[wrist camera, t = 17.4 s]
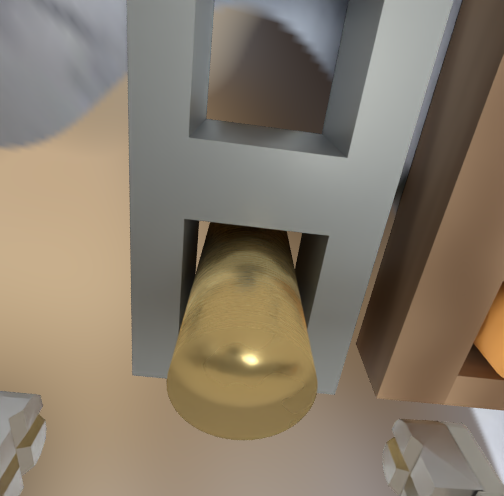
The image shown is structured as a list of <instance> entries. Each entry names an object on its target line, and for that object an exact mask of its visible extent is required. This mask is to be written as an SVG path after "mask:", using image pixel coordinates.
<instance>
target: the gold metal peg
mask: <svg viewBox="0 0 504 496" xmlns="http://www.w3.org/2000/svg"><path fill="white" fill-rule="evenodd" d="M317 388H318V381H317V375H316V370H315V366H314V361H313V356H312V351H311V346H310V341H309V337H308V332H307V327H306V322H305V317H304V312H303V308H302V303H301V298H300V293H299V288H298V283H297V279H296V274H295V269H294V264H293V260H292V255H291V250H290V245H289V240H288V236H287V231H284V230H276V229H267V228H259V227H250V226H242V225H233V224H225V223H216V222H210V225H209V228H208V232H207V235H206V239H205V243H204V246H203V250H202V253H201V257H200V260H199V264H198V268H197V271H196V275H195V278H194V282H193V285H192V289H191V292H190V296H189V300H188V303H187V307H186V310H185V314H184V317H183V321H182V324H181V328H180V332H179V335H178V339H177V342H176V346H175V349H174V353H173V357H172V360H171V364H170V367H169V371H168V374H167V392H168V396H169V399H170V401H171V403H172V405H173V407H174V408H175V410H176V411H177V412H178V414H179V415H180V416H181V417H182V418H183V419H184V420H185V421H186V422H188V423H189V424H191V425H192V426H194V427H195V428H197V429H199V430H201V431H203V432H205V433H207V434H210V435H213V436H216V437H220V438H225V439H231V440H255V439H262V438H266V437H270V436H273V435H276V434H279V433H281V432H283V431H285V430H287V429H289V428H291V427H292V426H294V425H295V424H296V423H298V422H299V421H300V420H301V419H302V418H303V417H304V416H305V415H306V414H307V413H308V411H309V410H310V409H311V407H312V405H313V403H314V401H315V398H316V394H317Z"/></svg>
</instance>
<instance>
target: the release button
mask: <svg viewBox="0 0 504 496" xmlns="http://www.w3.org/2000/svg"><path fill="white" fill-rule="evenodd" d="M474 345H475V346H476V347H477V348H478V350H479V351H480V352H481V353H482V355H483V356H484V357H485V358H486V360H487V361H488V362H489V363H490V365H491V366H492V367H493V368H494V370H495V371H496V372H497V373H498V374H499V375H500V376H501V377H503V378H504V281H503V282H502V284H501V286H500V289H499V291H498V293H497V295H496V297H495V299H494V301H493V303H492V305H491V307H490V309H489V311H488V314H487V316H486V318H485V320H484V322H483V324H482V326H481V328H480V330H479V332H478V334H477V336H476V338H475V341H474Z"/></svg>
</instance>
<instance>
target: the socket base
mask: <svg viewBox="0 0 504 496" xmlns="http://www.w3.org/2000/svg"><path fill="white" fill-rule="evenodd" d="M503 281H504V0H463V1H462V4H461V8H460V11H459V14H458V17H457V21H456V24H455V27H454V30H453V33H452V37H451V40H450V43H449V46H448V49H447V53H446V56H445V59H444V62H443V66H442V69H441V72H440V75H439V78H438V82H437V85H436V88H435V91H434V95H433V98H432V101H431V104H430V107H429V111H428V114H427V117H426V120H425V124H424V127H423V130H422V133H421V136H420V140H419V143H418V146H417V149H416V153H415V156H414V159H413V162H412V165H411V169H410V172H409V175H408V178H407V181H406V185H405V188H404V191H403V194H402V198H401V201H400V204H399V207H398V210H397V214H396V217H395V220H394V223H393V227H392V230H391V233H390V237H389V240H388V243H387V246H386V249H385V252H384V256H383V259H382V262H381V265H380V268H379V272H378V275H377V278H376V281H375V285H374V288H373V291H372V294H371V298H370V301H369V304H368V307H367V310H366V314H365V317H364V320H363V323H362V326H361V330H360V333H359V336H358V339H357V342H356V345H357V348H358V350H359V353H360V356H361V358H362V361H363V364H364V366H365V369H366V372H367V374H368V377H369V380H370V383H371V385H372V388H373V390H374V393H375V396H376V398H379V399H390V400H401V401H411V402H421V403H432V404H442V405H454V406H463V407H473V408H484V409H494V410H504V378H503V377H501V376H500V375H499V374H498V373H497V372H496V371H495V370H494V368H493V367H492V366H491V365H490V363H489V362H488V361H487V360H486V358H485V357H484V356H483V355H482V353H481V352H480V351H479V350H478V348H477V347H476V346H475V345H474V341H475V338H476V336H477V334H478V332H479V330H480V328H481V326H482V324H483V322H484V320H485V318H486V316H487V314H488V311H489V309H490V307H491V305H492V303H493V301H494V299H495V297H496V295H497V293H498V291H499V289H500V286H501V284H502V282H503Z"/></svg>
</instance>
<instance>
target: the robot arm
mask: <svg viewBox="0 0 504 496" xmlns="http://www.w3.org/2000/svg"><path fill="white" fill-rule="evenodd" d="M42 407H43V404H42V400H41V396H40V395H36V394H26V393H16V392H6V391H0V496H19V495H20V493H21V491H22V490H23V487H24V486H23V481H22V475H24V474H25V473H26V472H28V471H29V470H30V469H31V468H33V467H34V466H35V464H36V462H37V460H38V458H39V456H40V454H41V452H42V449H43V445H44V442H45V439H46V422H45V420H44V419H43V418H42V417H41V416H40V415H39V412H40V410H41V408H42ZM392 431H393V434H394V436H395V437H394V438H392V439H391V440H389V441H388V442H386V445H385V448H384V451H383V469H384V474H385V477H386V480H387V483H388V486H389V487H390V488H391V489H392V490H393V491H394V492H395V493H396V494H397V495H398V496H504V485H503V483H502V482H501V480H500V478H499V477H498V475H497V474H496V472H495V471H494V469H493V467H492V466H491V464H490V463H489V461H488V459H487V458H486V456H485V455H484V453H483V451H482V450H481V448H480V447H479V445H478V444H477V442H476V440H475V439H474V437H473V436H472V434H471V432H470V431H469V429H468V428H467V427H466V426H465V425H464V424H463V423H454V422H439V421H428V420H410V419H399V420H397V421H396V422H395V424H394V426H393V428H392Z"/></svg>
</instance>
